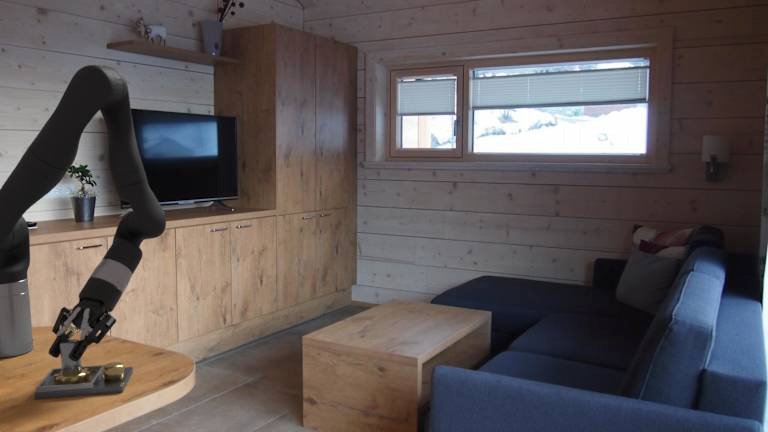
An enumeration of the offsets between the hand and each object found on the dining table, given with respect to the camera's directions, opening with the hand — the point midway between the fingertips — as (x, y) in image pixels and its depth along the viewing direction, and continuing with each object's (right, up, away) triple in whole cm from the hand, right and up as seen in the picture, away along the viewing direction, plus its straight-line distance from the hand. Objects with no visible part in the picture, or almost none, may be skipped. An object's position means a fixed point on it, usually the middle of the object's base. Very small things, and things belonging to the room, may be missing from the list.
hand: (62, 357), depth 130 cm
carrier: (+3, -6, +3) cm, 8 cm away
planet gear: (+1, -5, +3) cm, 6 cm away
